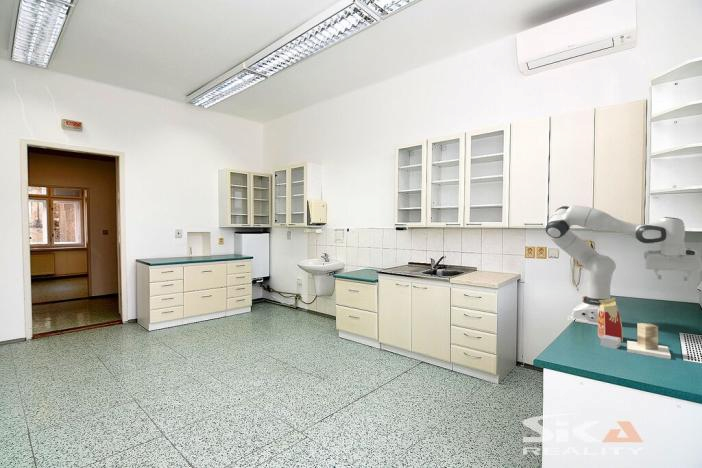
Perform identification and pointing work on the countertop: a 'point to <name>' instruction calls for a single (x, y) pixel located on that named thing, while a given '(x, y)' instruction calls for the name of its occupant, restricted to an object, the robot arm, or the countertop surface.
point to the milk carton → (609, 319)
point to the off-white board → (648, 350)
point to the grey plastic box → (610, 341)
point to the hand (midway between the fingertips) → (672, 279)
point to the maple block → (647, 336)
